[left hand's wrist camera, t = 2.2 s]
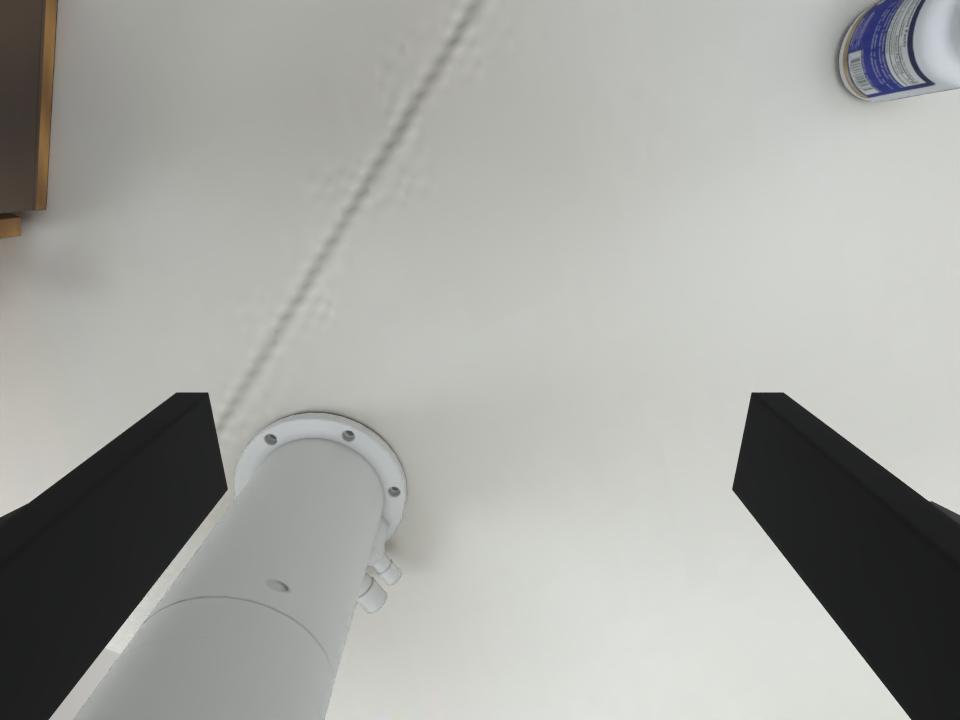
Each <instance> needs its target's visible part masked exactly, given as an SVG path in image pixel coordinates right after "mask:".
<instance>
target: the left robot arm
mask: <svg viewBox="0 0 960 720" xmlns="http://www.w3.org/2000/svg"><path fill="white" fill-rule="evenodd" d="M227 490H228V488H227V483H226V478H225V473H224V468H223V463H222V458H221V453H220V448H219V443H218V438H217V433H216V429H215V424H214V419H213V414H212V409H211V404H210V399H209V394H208V393H175V394H174V395H173V396H171V397H170V398H169V399H167V400H166V401H165V402H163V403H162V404H161V405H159V406H158V407H157V408H155V409H154V410H153V411H151V412H150V413H149V414H147V415H146V416H145V417H143V418H142V419H141V420H139V421H138V422H137V423H135V424H134V425H133V426H131V427H130V428H129V429H127V430H126V431H125V432H123V433H122V434H121V435H119V436H118V437H117V438H115V439H114V440H113V441H111V442H110V443H109V444H107V445H106V446H105V447H103V448H102V449H101V450H99V451H98V452H97V453H95V454H94V455H93V456H91V457H90V458H89V459H87V460H86V461H84V462H83V463H82V464H80V465H79V466H78V467H76V468H75V469H74V470H72V471H71V472H70V473H68V474H67V475H66V476H64V477H63V478H62V479H60V480H59V481H58V482H56V483H55V484H54V485H52V486H51V487H50V488H48V489H47V490H46V491H44V492H43V493H42V494H40V495H39V496H38V497H36V498H35V499H34V500H32V501H31V502H30V503H28V504H26V505H24V506H22V507H20V508H18V509H16V510H14V511H12V512H10V513H8V514H6V515H4V516H2V517H0V720H49V718H50V717H51V716H52V715H53V713H54V712H55V711H56V709H57V708H58V707H59V706H60V704H61V703H62V702H63V700H64V699H65V698H66V697H67V695H68V694H69V693H70V691H71V690H72V689H73V688H74V686H75V685H76V684H77V682H78V681H79V680H80V679H81V677H82V676H83V675H84V674H85V672H86V671H87V670H88V668H89V667H90V666H91V664H92V663H93V662H94V661H95V659H96V658H97V657H98V656H99V654H100V653H101V652H102V650H103V649H104V648H105V647H106V645H107V644H108V643H109V641H110V640H111V639H112V638H113V636H114V635H115V634H116V632H117V631H118V630H119V629H120V627H121V626H122V625H123V623H124V622H125V621H126V620H127V618H128V617H129V616H130V614H131V613H132V612H133V611H134V609H135V608H136V607H137V605H138V604H139V603H140V602H141V600H142V599H143V598H144V596H145V595H146V594H147V593H148V591H149V590H150V589H151V587H152V586H153V585H154V584H155V582H156V581H157V580H158V578H159V577H160V576H161V575H162V573H163V572H164V571H165V569H166V568H167V567H168V566H169V564H170V563H171V562H172V560H173V559H174V558H175V557H176V555H177V554H178V553H179V551H180V550H181V549H182V548H183V546H184V545H185V544H186V542H187V541H188V540H189V539H190V537H191V536H192V535H193V533H194V532H195V531H196V530H197V528H198V527H199V526H200V524H201V523H202V522H203V521H204V519H205V518H206V517H207V515H208V514H209V513H210V512H211V510H212V509H213V508H214V507H215V505H216V504H217V503H218V501H219V500H220V499H221V498H222V496H223V495H224V494H225V492H226V491H227ZM732 490H733V491H734V492H735V494H736V495H737V496H738V498H739V499H740V500H741V501H742V503H743V504H744V505H745V507H746V508H747V509H748V510H749V512H750V513H751V514H752V516H753V517H754V518H755V519H756V521H757V522H758V523H759V524H760V526H761V527H762V528H763V530H764V531H765V532H766V533H767V535H768V536H769V537H770V539H771V540H772V541H773V542H774V544H775V545H776V546H777V548H778V549H779V550H780V551H781V553H782V554H783V555H784V557H785V558H786V559H787V560H788V562H789V563H790V564H791V566H792V567H793V568H794V569H795V571H796V572H797V573H798V575H799V576H800V577H801V578H802V580H803V581H804V582H805V584H806V585H807V586H808V587H809V589H810V590H811V591H812V593H813V594H814V595H815V596H816V598H817V599H818V600H819V602H820V603H821V604H822V605H823V607H824V608H825V609H826V611H827V612H828V613H829V614H830V616H831V617H832V618H833V620H834V621H835V622H836V623H837V625H838V626H839V627H840V629H841V630H842V631H843V632H844V634H845V635H846V636H847V638H848V639H849V640H850V641H851V643H852V644H853V645H854V647H855V648H856V649H857V650H858V652H859V653H860V654H861V656H862V657H863V658H864V659H865V661H866V662H867V663H868V665H869V666H870V667H871V668H872V670H873V671H874V672H875V674H876V675H877V676H878V677H879V679H880V680H881V681H882V683H883V684H884V685H885V686H886V688H887V689H888V690H889V691H890V693H891V694H892V695H893V697H894V698H895V699H896V700H897V702H898V703H899V704H900V706H901V707H902V708H903V709H904V711H905V712H906V713H907V715H908V716H909V717H910V718H911V720H960V515H958V514H956V513H954V512H952V511H950V510H948V509H946V508H944V507H942V506H940V505H938V504H936V503H934V502H929V501H928V500H926V499H925V498H924V497H922V496H921V495H920V494H918V493H917V492H916V491H914V490H913V489H912V488H910V487H909V486H908V485H906V484H905V483H904V482H902V481H901V480H900V479H898V478H897V477H896V476H894V475H893V474H892V473H890V472H889V471H888V470H886V469H885V468H884V467H882V466H881V465H880V464H878V463H877V462H876V461H874V460H873V459H871V458H870V457H869V456H867V455H866V454H865V453H863V452H862V451H861V450H859V449H858V448H857V447H855V446H854V445H853V444H851V443H850V442H849V441H847V440H846V439H845V438H843V437H842V436H841V435H839V434H838V433H837V432H835V431H834V430H833V429H831V428H830V427H829V426H827V425H826V424H825V423H823V422H822V421H821V420H819V419H818V418H817V417H815V416H814V415H813V414H811V413H810V412H809V411H807V410H806V409H805V408H803V407H802V406H801V405H799V404H798V403H797V402H795V401H794V400H793V399H791V398H790V397H789V396H787V395H786V394H785V393H752V394H751V399H750V404H749V409H748V414H747V419H746V424H745V428H744V433H743V438H742V443H741V448H740V453H739V458H738V463H737V468H736V473H735V478H734V483H733V488H732Z"/></svg>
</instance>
